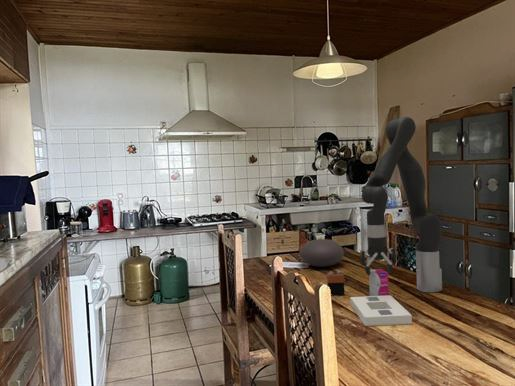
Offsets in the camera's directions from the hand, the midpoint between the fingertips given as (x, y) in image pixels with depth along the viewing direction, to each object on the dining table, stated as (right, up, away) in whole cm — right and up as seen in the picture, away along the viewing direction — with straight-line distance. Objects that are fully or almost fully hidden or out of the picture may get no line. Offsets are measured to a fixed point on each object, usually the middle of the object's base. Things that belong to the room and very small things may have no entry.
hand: (378, 274), depth 163 cm
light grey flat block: (-5, -11, -16) cm, 20 cm away
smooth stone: (-14, -8, +61) cm, 63 cm away
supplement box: (0, -10, +1) cm, 10 cm away
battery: (-16, -11, +9) cm, 21 cm away
